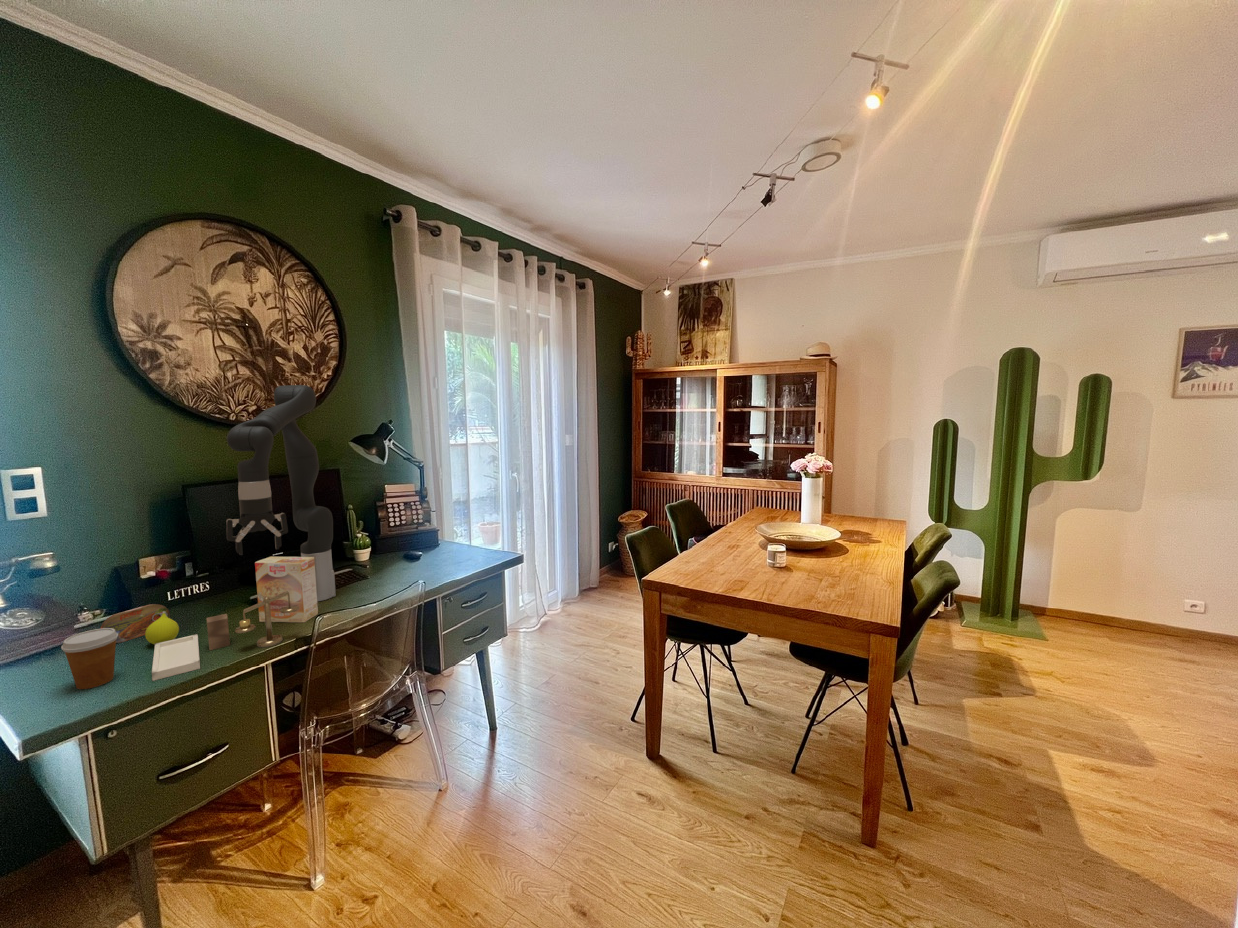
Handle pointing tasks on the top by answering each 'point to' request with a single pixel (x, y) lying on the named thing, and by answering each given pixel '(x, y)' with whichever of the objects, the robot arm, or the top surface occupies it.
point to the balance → (266, 621)
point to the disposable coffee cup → (91, 657)
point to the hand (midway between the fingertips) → (259, 551)
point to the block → (218, 631)
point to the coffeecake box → (287, 587)
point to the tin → (134, 621)
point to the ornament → (162, 630)
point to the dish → (175, 657)
